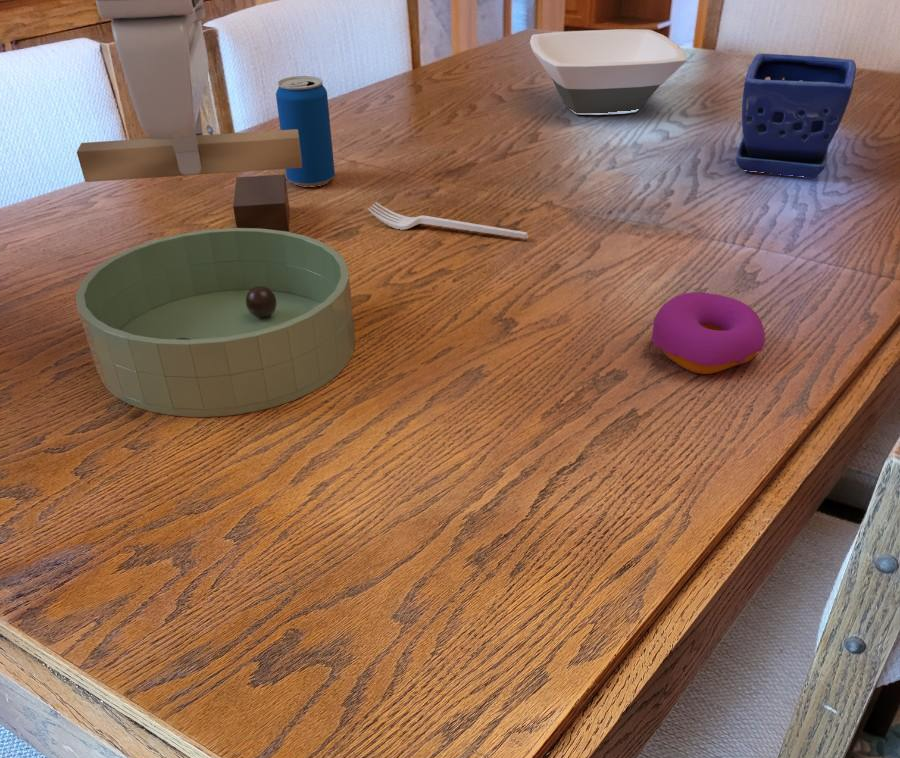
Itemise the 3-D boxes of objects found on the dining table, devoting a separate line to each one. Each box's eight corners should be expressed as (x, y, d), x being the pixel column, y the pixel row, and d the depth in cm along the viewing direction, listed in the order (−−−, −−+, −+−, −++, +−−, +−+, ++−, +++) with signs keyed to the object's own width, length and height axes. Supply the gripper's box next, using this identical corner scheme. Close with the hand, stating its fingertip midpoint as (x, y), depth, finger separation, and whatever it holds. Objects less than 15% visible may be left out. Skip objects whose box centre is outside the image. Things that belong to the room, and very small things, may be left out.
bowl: (519, 90, 152) (521, 32, 146) (651, 84, 154) (658, 27, 148) (543, 130, 136) (546, 67, 131) (690, 123, 138) (699, 60, 132)
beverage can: (344, 183, 121) (335, 83, 113) (301, 193, 118) (288, 91, 110) (321, 170, 125) (310, 72, 117) (279, 179, 122) (265, 80, 114)
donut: (691, 390, 81) (700, 343, 78) (627, 342, 87) (632, 297, 84) (781, 363, 84) (793, 317, 81) (712, 319, 91) (721, 275, 88)
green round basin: (78, 428, 78) (52, 354, 73) (116, 302, 95) (98, 236, 91) (362, 404, 80) (356, 331, 75) (348, 286, 98) (342, 220, 93)
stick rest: (239, 240, 107) (232, 206, 104) (241, 210, 114) (236, 177, 112) (289, 237, 108) (285, 203, 105) (289, 207, 115) (285, 174, 112)
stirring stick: (84, 182, 75) (76, 151, 73) (89, 172, 77) (80, 142, 75) (302, 168, 76) (298, 137, 75) (301, 158, 78) (298, 128, 76)
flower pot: (829, 186, 117) (856, 84, 109) (725, 176, 121) (744, 76, 112) (832, 154, 126) (857, 58, 118) (735, 146, 130) (754, 51, 121)
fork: (523, 246, 105) (524, 229, 103) (366, 225, 110) (365, 209, 109) (531, 235, 107) (532, 219, 106) (377, 215, 112) (376, 200, 111)
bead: (248, 324, 90) (242, 295, 88) (249, 310, 92) (243, 282, 90) (278, 321, 90) (273, 293, 88) (278, 308, 92) (274, 280, 90)
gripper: (127, -53, 74) (166, 129, 83) (88, -6, 59) (141, 210, 69) (205, -57, 74) (235, 125, 84) (185, -11, 60) (225, 204, 69)
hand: (193, 164), depth 76 cm, fingers closed on stirring stick, 2 cm apart
